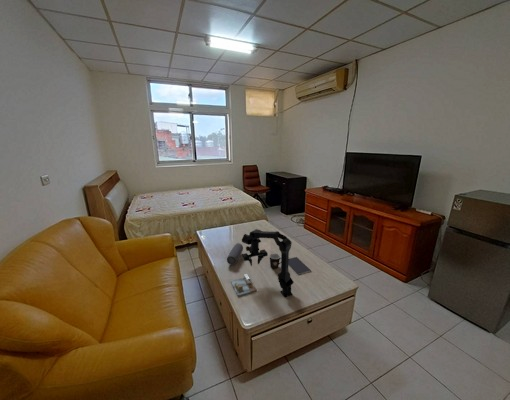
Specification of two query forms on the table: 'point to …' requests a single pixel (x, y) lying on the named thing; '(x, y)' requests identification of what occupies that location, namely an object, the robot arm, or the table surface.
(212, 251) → the table surface
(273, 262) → the coffee mug
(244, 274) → the latch bar
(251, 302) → the table surface
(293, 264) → the notebook
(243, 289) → the door panel
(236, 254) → the bluetooth speaker
